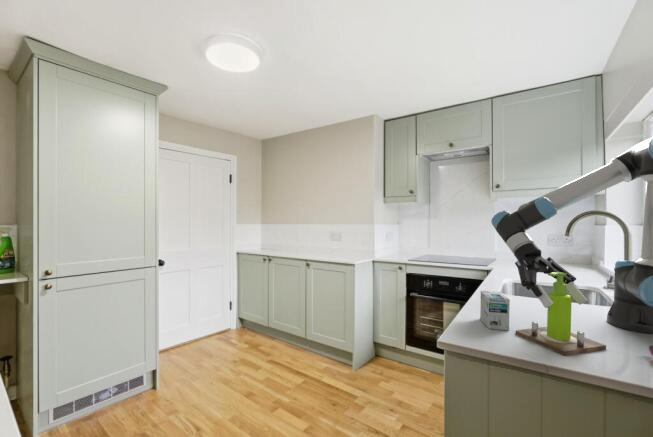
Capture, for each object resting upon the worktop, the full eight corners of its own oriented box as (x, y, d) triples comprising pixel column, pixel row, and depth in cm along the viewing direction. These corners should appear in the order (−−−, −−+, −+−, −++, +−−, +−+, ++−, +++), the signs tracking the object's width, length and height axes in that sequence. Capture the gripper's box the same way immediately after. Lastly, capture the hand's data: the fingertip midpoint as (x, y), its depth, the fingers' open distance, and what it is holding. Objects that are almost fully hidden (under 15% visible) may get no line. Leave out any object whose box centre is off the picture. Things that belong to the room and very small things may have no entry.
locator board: (552, 329, 107) (553, 314, 107) (606, 349, 92) (606, 331, 91) (515, 334, 102) (515, 318, 102) (564, 355, 87) (565, 337, 87)
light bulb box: (509, 331, 105) (510, 299, 105) (488, 329, 107) (488, 297, 106) (499, 320, 116) (499, 291, 115) (479, 318, 117) (479, 290, 117)
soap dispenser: (539, 334, 99) (541, 271, 98) (556, 332, 101) (557, 270, 100) (558, 342, 93) (560, 275, 93) (575, 339, 95) (577, 273, 95)
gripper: (544, 254, 115) (587, 307, 101) (488, 256, 108) (526, 313, 94) (558, 240, 110) (606, 294, 95) (501, 242, 103) (543, 300, 89)
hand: (566, 304), depth 95 cm, fingers open, 13 cm apart
